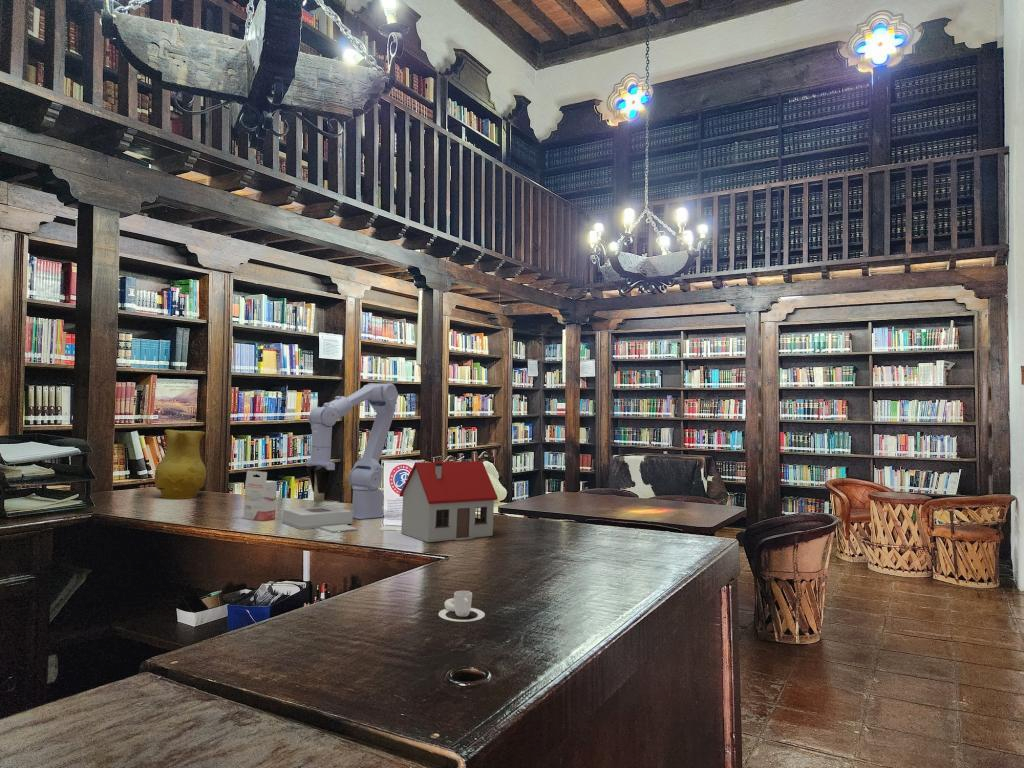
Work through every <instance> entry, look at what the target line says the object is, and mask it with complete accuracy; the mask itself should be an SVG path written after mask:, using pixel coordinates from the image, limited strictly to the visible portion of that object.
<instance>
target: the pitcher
mask: <svg viewBox="0 0 1024 768" xmlns="http://www.w3.org/2000/svg"><path fill="white" fill-rule="evenodd" d="M164 433H165V435H166V439H167V444H166V450H165V453H164V455H163V458H162V459H161V460H160V462H159V463H158V464H157V466H156V468H155V471H154V479H153V480H154V484H155V485H154V486H155V488H156V489H157V490H158V491H160V493H161V495H160V496H159V498H163V499H168V500H169V499H170V500H183V499H193V498H197V497H198V494H197V493H198V491H200V490H201V489H202V488H203V487H204V485H206V484H205V481H206V479H207V468H206V466H205V463H204V462H203V460H202V458H201V453H200V447H201V446H200V445H201V444H200V443H201V441H202V440H201V439H202V438H203V436H205V435H206V432H205V431H201V430H176V429H175V430H174V429H165V430H164Z"/></svg>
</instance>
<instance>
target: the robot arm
mask: <svg viewBox="0 0 1024 768" xmlns="http://www.w3.org/2000/svg"><path fill="white" fill-rule="evenodd" d="M398 398H399V392H398V390H397V387H396V386H395V384H393V383H392V382H388V383H375V382H369V383H367V384H365V385H363V387H361V388H360V389H358V390H356V391H355V392H353V393H351V394H350V395H348V396H347V397H346V396H342V395H341V396H340V395H337V396H335V397H334V399H332V401H329V402H324V403H323V405H322V406H321V407H320V406H316V407H314V408H313V409H311V411H310V413H309V415H308V416H307V417H308V422H309V424H310V429H311V448H310V450H311V451H310V459H306V467H309V468H306V469H305V470H306V473H307V474H308V477H309V480H310V484H311V489H312V490H311V491H312V492H313V493H314V484H315V474H316V478H317V489H318V493H324V494H325V493H326V492H327V489H328V486H329V482H330V480H331V477H332V476H333V474H334V473H335V470H336V469H335V468H336V464H335V462H332V461H331V455H332V436H333V435H332V434H333V426H334V425H335V424H336V423H337V420H339V419H341V418H343V417H344V416H346V415H347V414H349V413H351V412H352V408H353V407H355V406H357V405H359V404H361V403H363V402H365V401H367V402H368V403H369V405H370V407H371V408H372V409H373V410H374V411H375V412H376V415H375V417H374V421H373V424H372V427H371V430H370V433H369V437H368V439H367V443H366V446H365V448H364V451H363V454H362V457H361V458H360V459H359V460H357V461H356V462H355V463H354V465H353V468H352V469H351V470H350V472H349V474H348V483H349V485H350V486H351V489H352V505H351V506H352V508H351V511H353V518H354V519H355V520H365V519H366V520H367V519H376V518H384V517H383V515H384V509H383V510H382V506H383V507H384V504H383V496H384V492H383V491H382V490H381V489H380V488H379V487H380V486H381V483H382V481H383V477H382V476H383V472H384V471H383V470H384V468H383V466H382V465H381V464H380V463H379V462H380V460H381V456H382V453H383V451H384V447H385V444H386V441H387V437H388V435H389V431H390V428H391V425H392V421H393V418H394V415H395V409H396V405H397V404H396V403H397V400H398ZM316 467H317V468H320V469H315V468H316Z"/></svg>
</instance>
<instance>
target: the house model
mask: <svg viewBox="0 0 1024 768" xmlns="http://www.w3.org/2000/svg"><path fill="white" fill-rule="evenodd" d="M495 490H496V489H495V488H494V485H493V483H492V481H491V479H490V476H489V473H488V471H487V468H486V466H485V465H484V462H483V461H480V460H478V461H477V460H476V461H475V460H474V461H472V460H471V461H468V460H467V461H416V462H414V464H413V466H412V468H411V470H410V472H409V474H408V476H407V478H406V480H405V482H404V484H403V487H402V489H401V490H400V493H399V497H402V512H401V530H400V531H401V534H403V535H406V536H409V537H411V538H413V539H417V540H421V541H423V542H426V543H434V542H435V543H436V542H443V541H464V540H465V541H466V540H474V539H475V538H483V537H491V536H492V537H493V535H494V533H493V532H494V531H493V530H494V511H495V509H494V508H495V504H494V503H495V501H498V495H497V491H495ZM479 508H480V510H479Z"/></svg>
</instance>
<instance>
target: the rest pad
mask: <svg viewBox="0 0 1024 768" xmlns="http://www.w3.org/2000/svg"><path fill="white" fill-rule="evenodd" d="M322 529H323V530H322ZM320 530H322V531H325V530H326V532H328V531H330V532H329V533H331V532H337V533H339V532H338V531H346V530H356V531H359V527H358V528H357V527H354V526H352V525H345V524H344V525H333V526H323V527H320ZM346 532H347V531H346Z"/></svg>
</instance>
